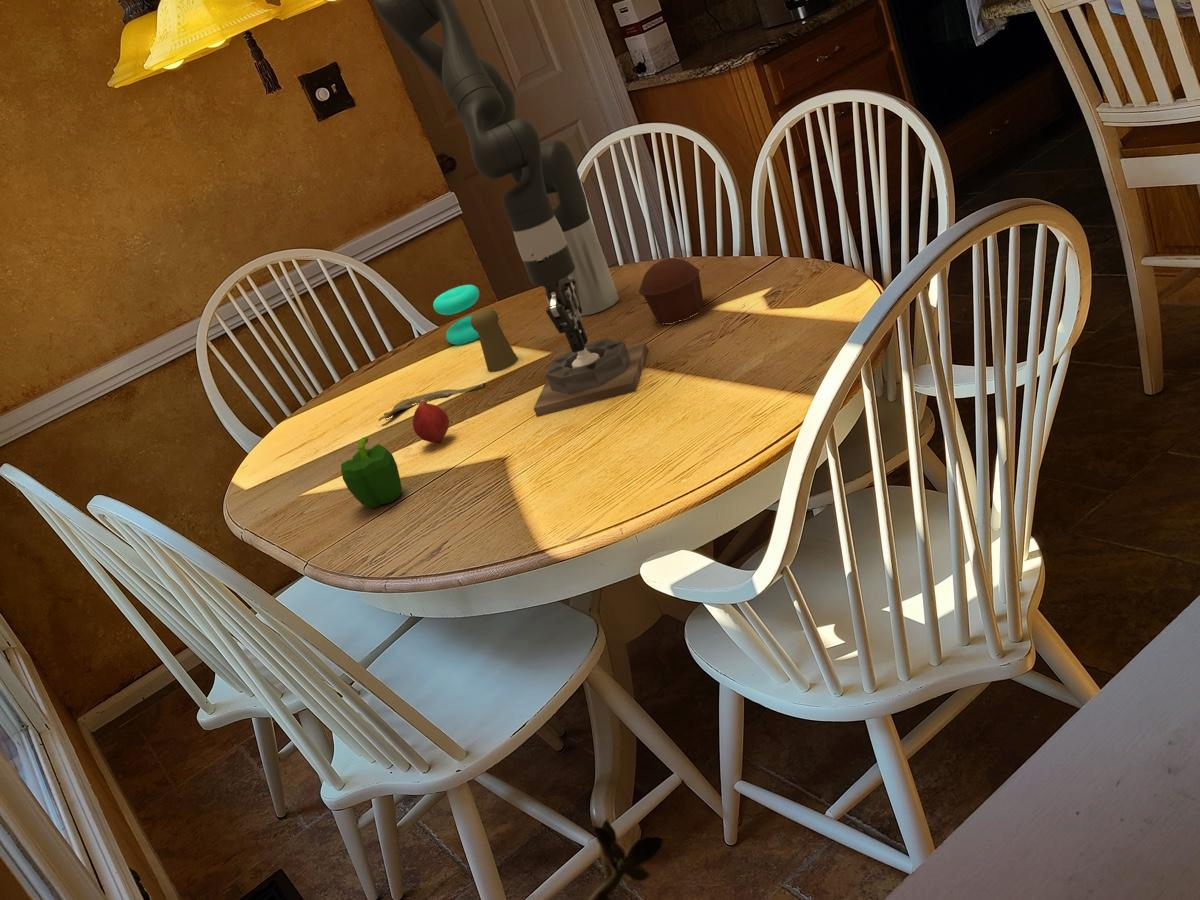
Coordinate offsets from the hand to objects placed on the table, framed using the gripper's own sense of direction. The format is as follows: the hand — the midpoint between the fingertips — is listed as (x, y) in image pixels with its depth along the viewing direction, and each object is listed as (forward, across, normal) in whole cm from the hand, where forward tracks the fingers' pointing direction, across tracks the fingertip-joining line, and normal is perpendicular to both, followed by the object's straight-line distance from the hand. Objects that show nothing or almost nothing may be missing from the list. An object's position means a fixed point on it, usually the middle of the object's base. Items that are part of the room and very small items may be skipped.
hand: (580, 346), depth 182 cm
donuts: (+7, -44, -35) cm, 57 cm away
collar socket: (+6, 0, 0) cm, 6 cm away
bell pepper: (+7, +26, -30) cm, 40 cm away
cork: (+7, -21, -22) cm, 31 cm away
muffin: (+7, -22, +13) cm, 26 cm away
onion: (+7, +9, -26) cm, 28 cm away
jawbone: (+7, -9, -33) cm, 35 cm away
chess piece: (+3, 0, 0) cm, 3 cm away
